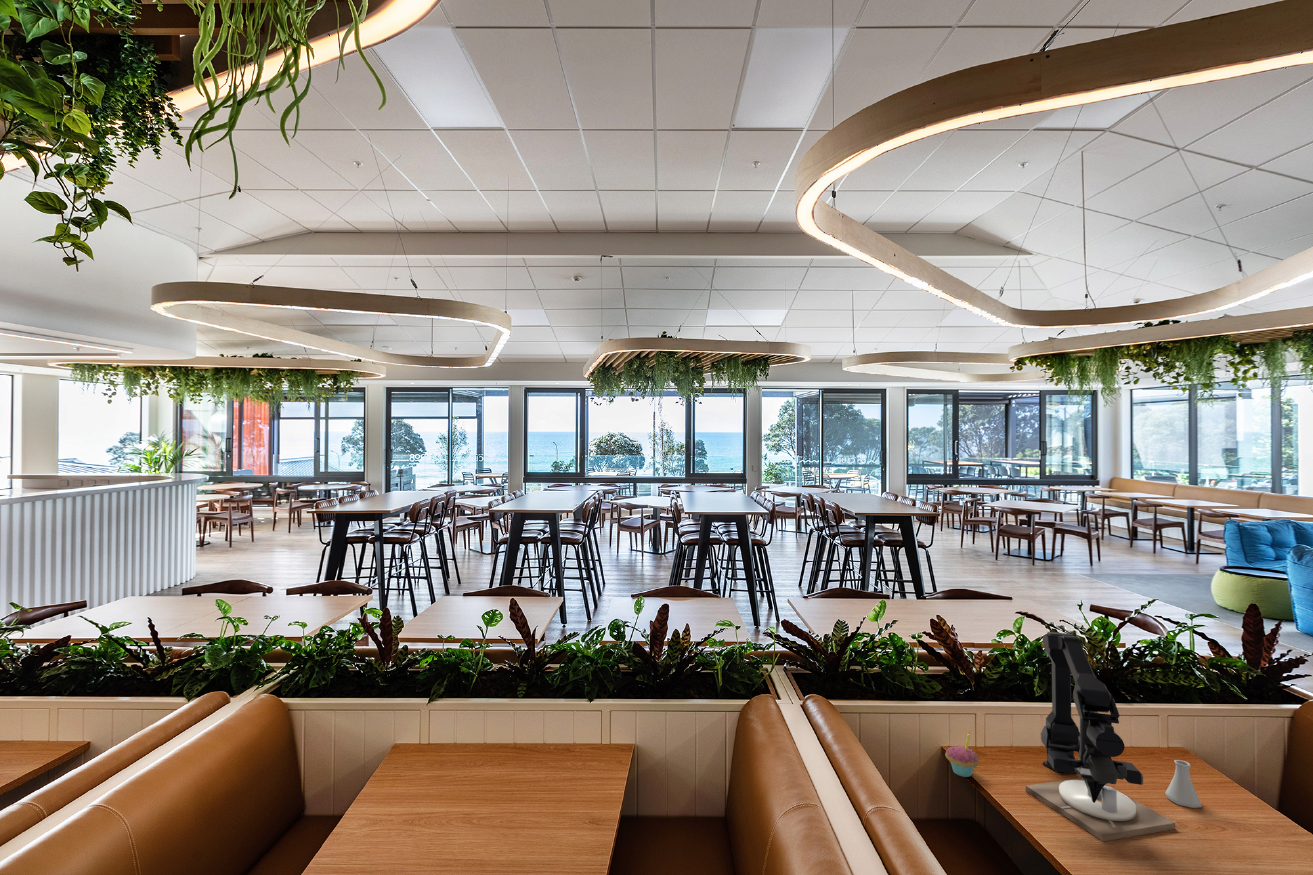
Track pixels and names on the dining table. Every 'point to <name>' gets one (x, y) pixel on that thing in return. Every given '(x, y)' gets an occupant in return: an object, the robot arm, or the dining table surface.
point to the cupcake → (962, 759)
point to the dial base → (1099, 827)
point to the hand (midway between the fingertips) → (1093, 801)
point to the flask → (1183, 787)
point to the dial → (1098, 801)
